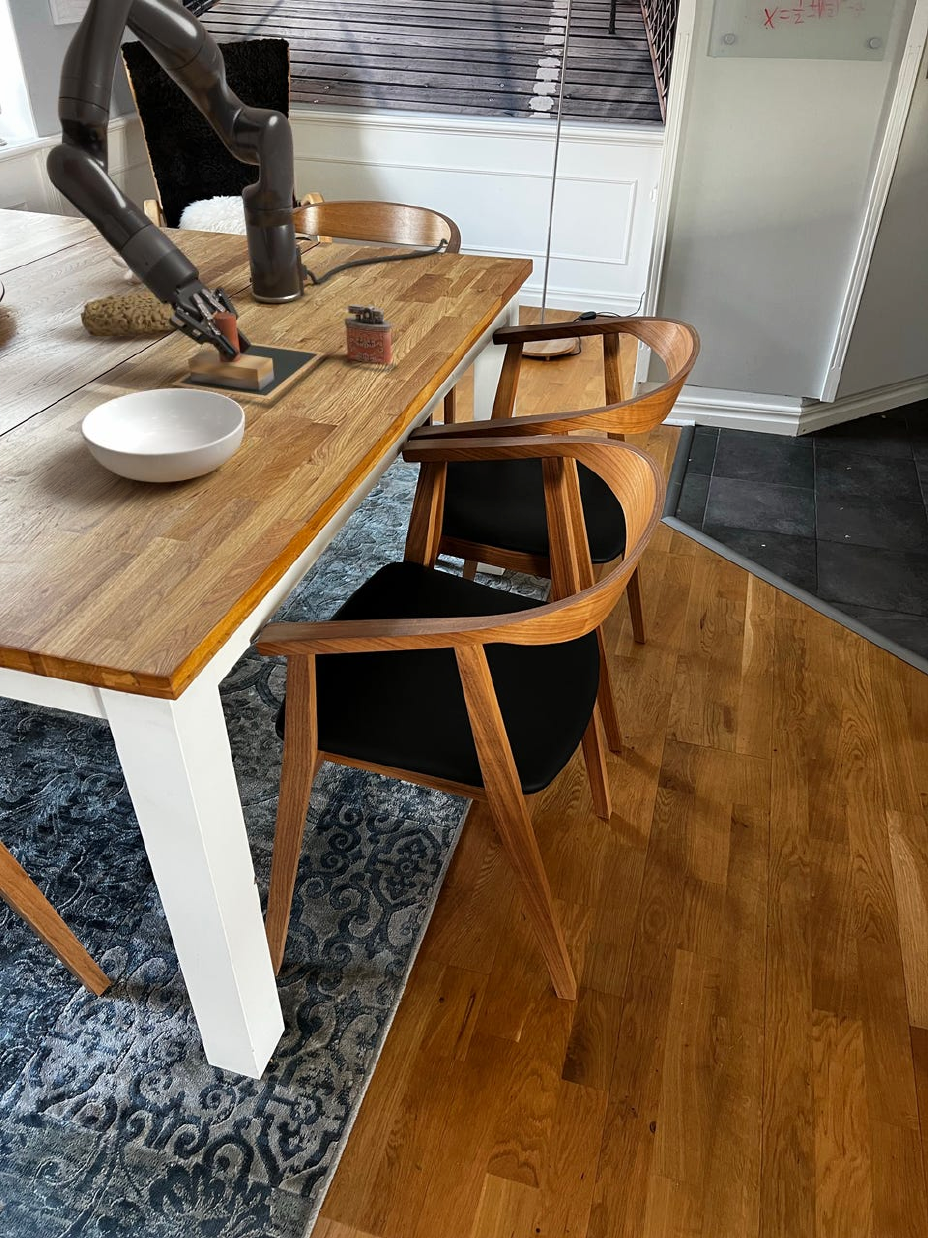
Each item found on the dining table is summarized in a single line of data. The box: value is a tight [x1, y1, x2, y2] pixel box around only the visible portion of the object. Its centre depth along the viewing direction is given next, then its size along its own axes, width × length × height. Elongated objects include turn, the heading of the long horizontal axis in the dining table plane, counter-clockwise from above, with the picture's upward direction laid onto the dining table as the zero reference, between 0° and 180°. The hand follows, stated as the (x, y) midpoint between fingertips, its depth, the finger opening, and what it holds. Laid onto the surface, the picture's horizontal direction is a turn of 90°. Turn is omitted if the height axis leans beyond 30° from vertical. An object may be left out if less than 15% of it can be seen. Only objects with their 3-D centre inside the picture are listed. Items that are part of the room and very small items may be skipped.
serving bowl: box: [80, 388, 246, 483], centre depth 127 cm, size 21×21×7 cm
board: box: [171, 342, 326, 400], centre depth 156 cm, size 21×17×1 cm
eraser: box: [188, 311, 274, 391], centre depth 148 cm, size 12×5×10 cm, turn 72°
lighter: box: [344, 303, 393, 372], centre depth 157 cm, size 8×3×10 cm, turn 71°
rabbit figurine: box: [110, 255, 143, 286], centre depth 193 cm, size 6×4×8 cm
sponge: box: [80, 291, 178, 337], centre depth 170 cm, size 13×8×20 cm
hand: (240, 353), depth 148 cm, fingers closed on eraser, 3 cm apart
